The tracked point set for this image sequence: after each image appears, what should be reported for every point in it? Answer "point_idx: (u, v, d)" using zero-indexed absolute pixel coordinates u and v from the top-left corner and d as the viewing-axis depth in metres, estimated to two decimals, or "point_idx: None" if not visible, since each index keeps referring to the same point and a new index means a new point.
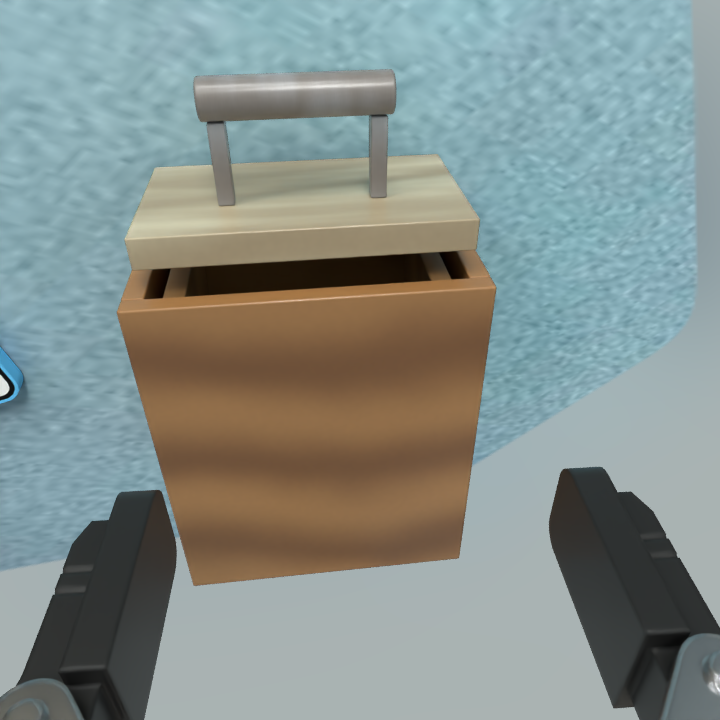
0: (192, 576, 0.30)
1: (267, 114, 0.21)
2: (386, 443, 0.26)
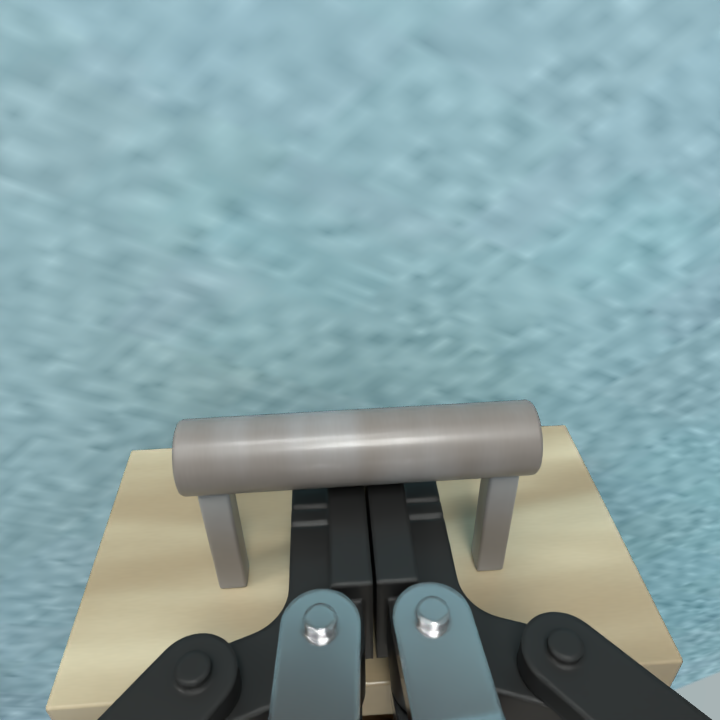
0: None
1: None
2: None
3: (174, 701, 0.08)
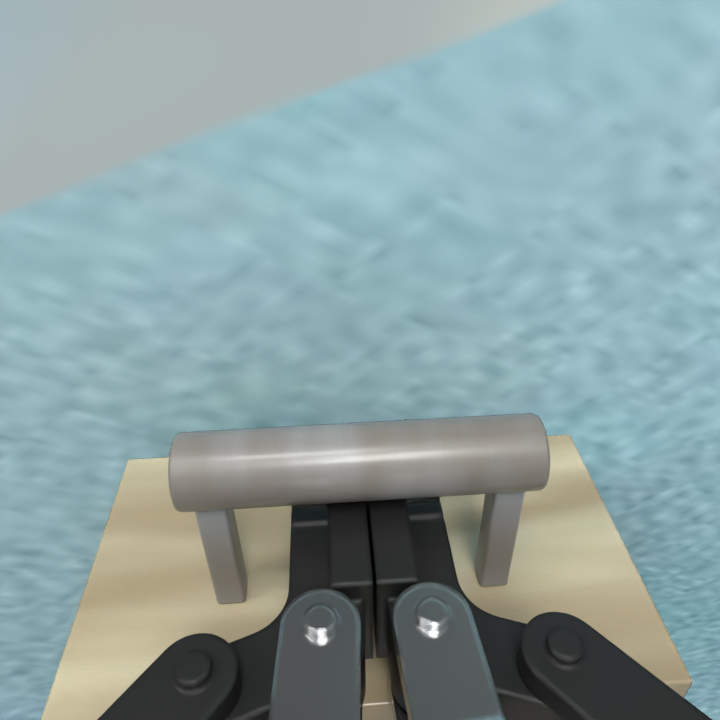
0: None
1: None
2: None
3: (174, 700, 0.08)
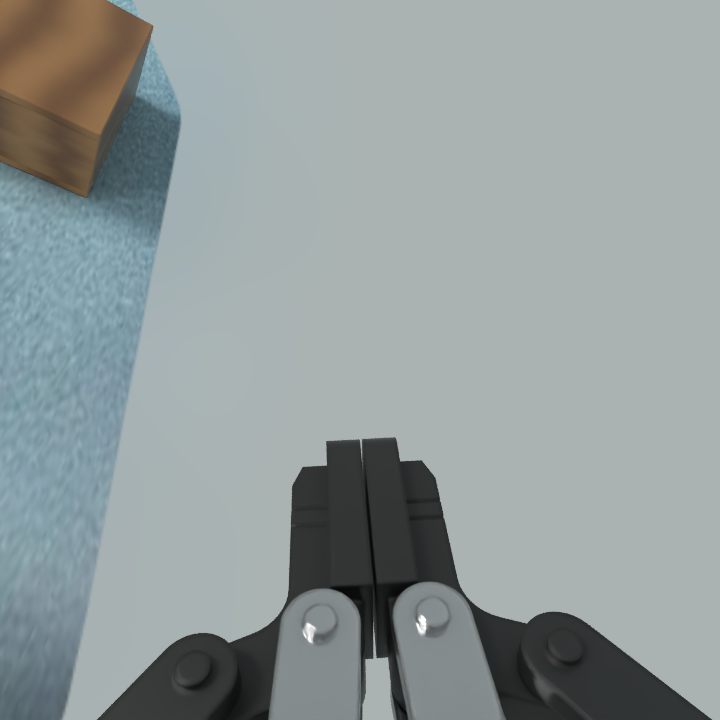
0: (90, 129, 0.47)
1: None
2: None
3: (174, 701, 0.08)
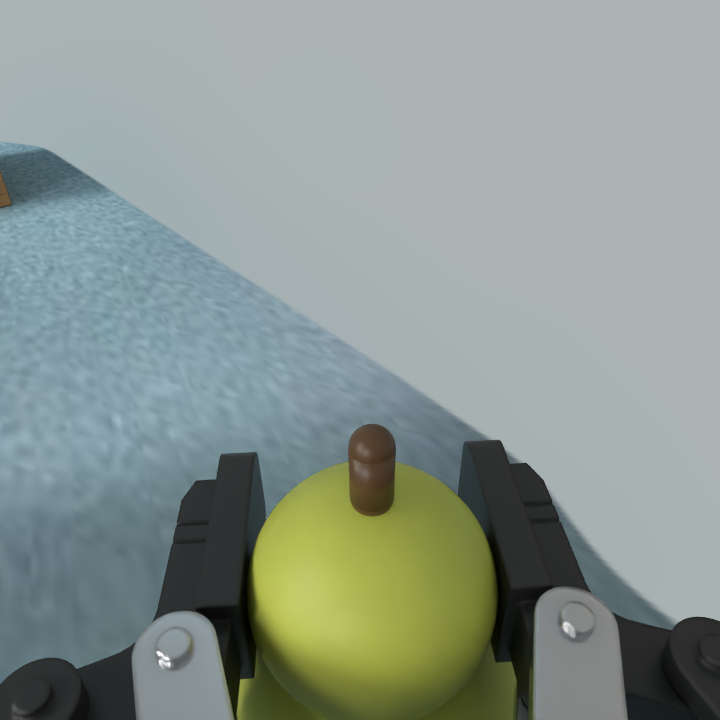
0: None
1: None
2: None
3: None
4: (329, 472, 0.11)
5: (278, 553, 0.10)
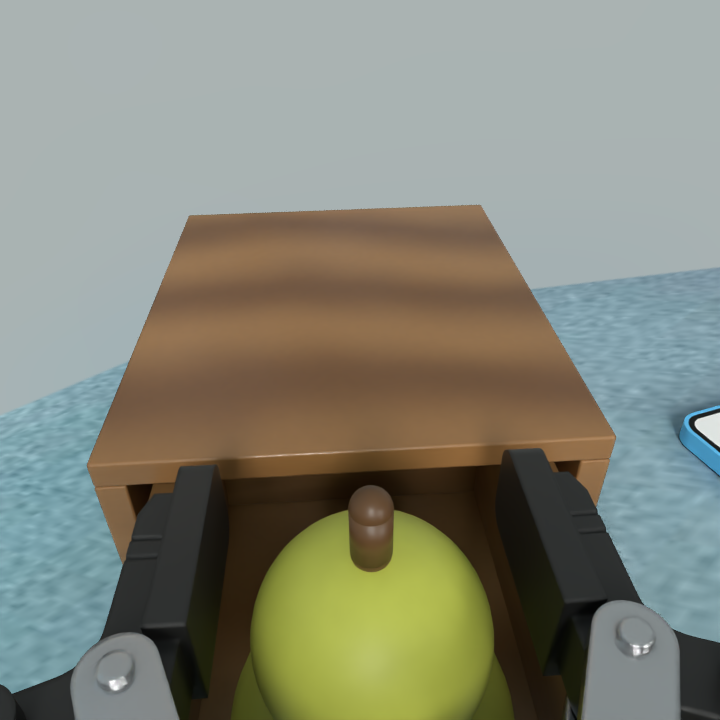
0: (482, 210, 0.28)
1: None
2: (262, 307, 0.21)
3: None
4: (330, 523, 0.11)
5: (280, 607, 0.10)
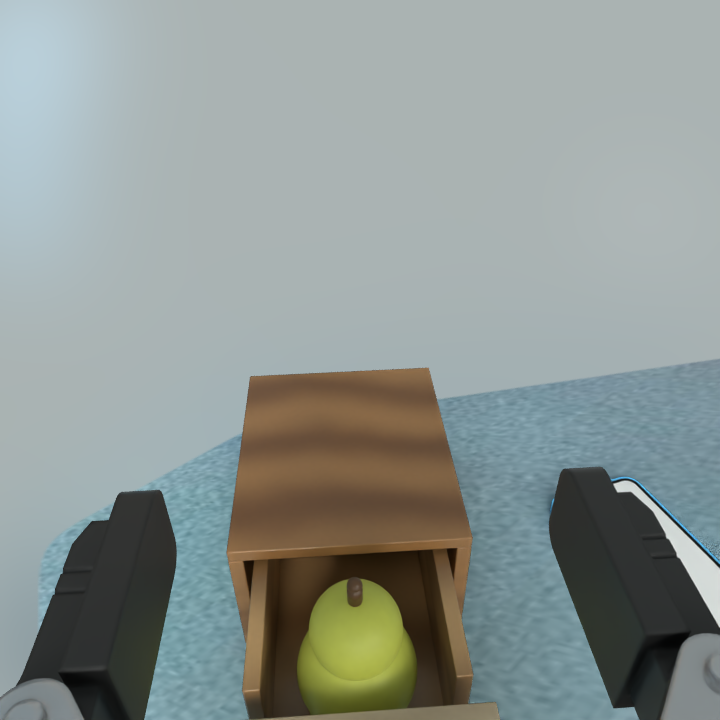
0: (429, 373, 0.46)
1: None
2: (300, 453, 0.39)
3: None
4: (339, 587, 0.29)
5: (322, 619, 0.28)
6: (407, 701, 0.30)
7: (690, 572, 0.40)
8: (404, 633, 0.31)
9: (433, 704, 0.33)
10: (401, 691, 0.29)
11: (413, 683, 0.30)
